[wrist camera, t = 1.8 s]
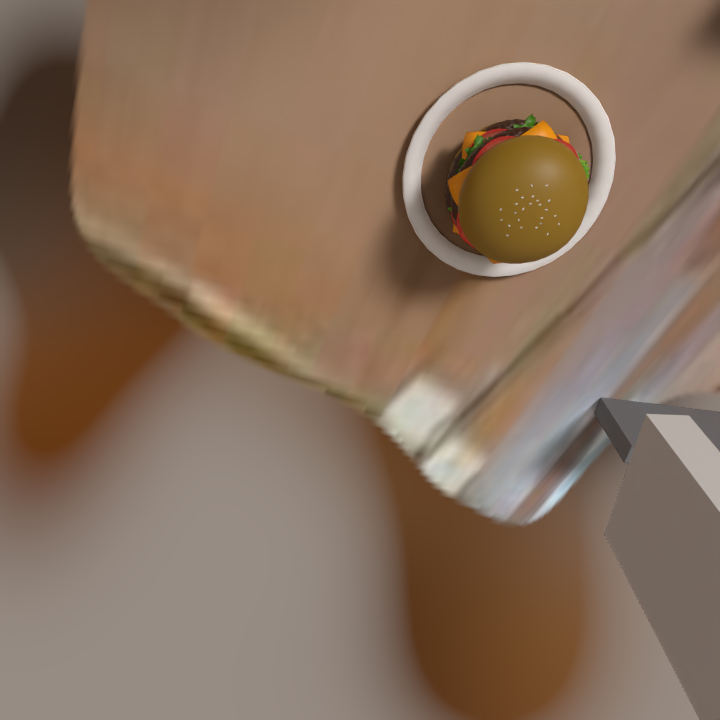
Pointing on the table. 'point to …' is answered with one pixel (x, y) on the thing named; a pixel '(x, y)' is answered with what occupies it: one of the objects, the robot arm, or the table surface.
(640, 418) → the box
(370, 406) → the table surface
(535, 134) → the hamburger
